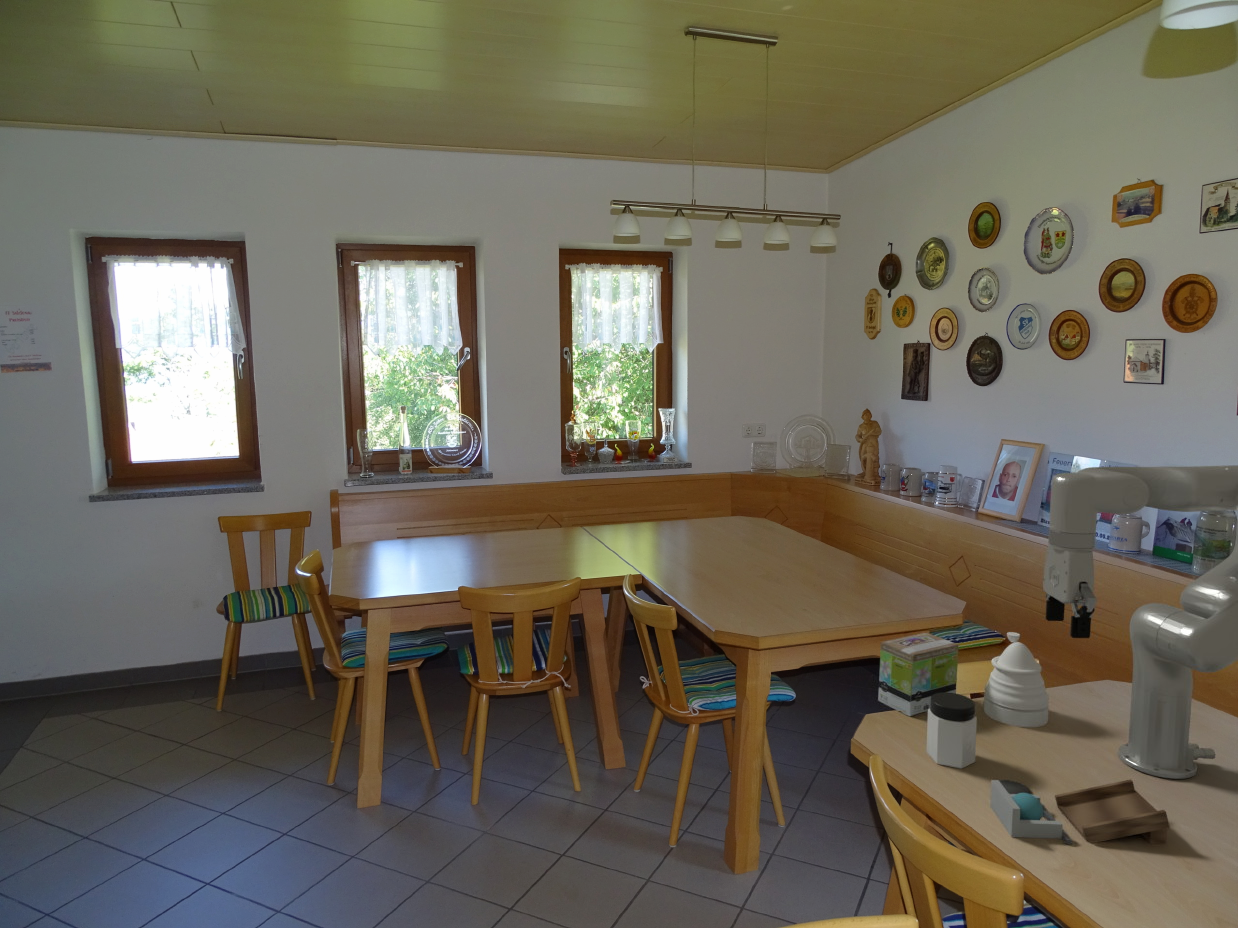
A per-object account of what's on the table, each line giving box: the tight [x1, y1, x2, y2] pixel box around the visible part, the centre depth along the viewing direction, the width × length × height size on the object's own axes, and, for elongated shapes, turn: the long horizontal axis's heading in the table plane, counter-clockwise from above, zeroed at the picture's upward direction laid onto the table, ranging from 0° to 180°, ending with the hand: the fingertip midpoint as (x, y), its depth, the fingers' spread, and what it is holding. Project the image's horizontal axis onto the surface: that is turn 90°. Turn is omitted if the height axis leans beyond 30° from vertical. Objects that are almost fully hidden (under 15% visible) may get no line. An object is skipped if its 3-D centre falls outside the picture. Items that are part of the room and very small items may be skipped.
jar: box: [926, 692, 978, 769], centre depth 153 cm, size 9×8×12 cm
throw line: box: [1040, 801, 1073, 845], centre depth 131 cm, size 1×12×1 cm, turn 175°
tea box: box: [877, 632, 959, 717], centre depth 179 cm, size 15×10×15 cm
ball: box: [1012, 793, 1043, 820], centre depth 131 cm, size 5×5×5 cm
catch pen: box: [989, 779, 1064, 840], centre depth 131 cm, size 8×9×5 cm
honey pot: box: [983, 631, 1050, 728], centre depth 172 cm, size 13×13×18 cm
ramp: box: [1054, 779, 1170, 844], centre depth 130 cm, size 13×10×6 cm
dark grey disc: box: [998, 779, 1033, 795], centre depth 141 cm, size 6×6×1 cm
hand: (1066, 628), depth 145 cm, fingers open, 9 cm apart
